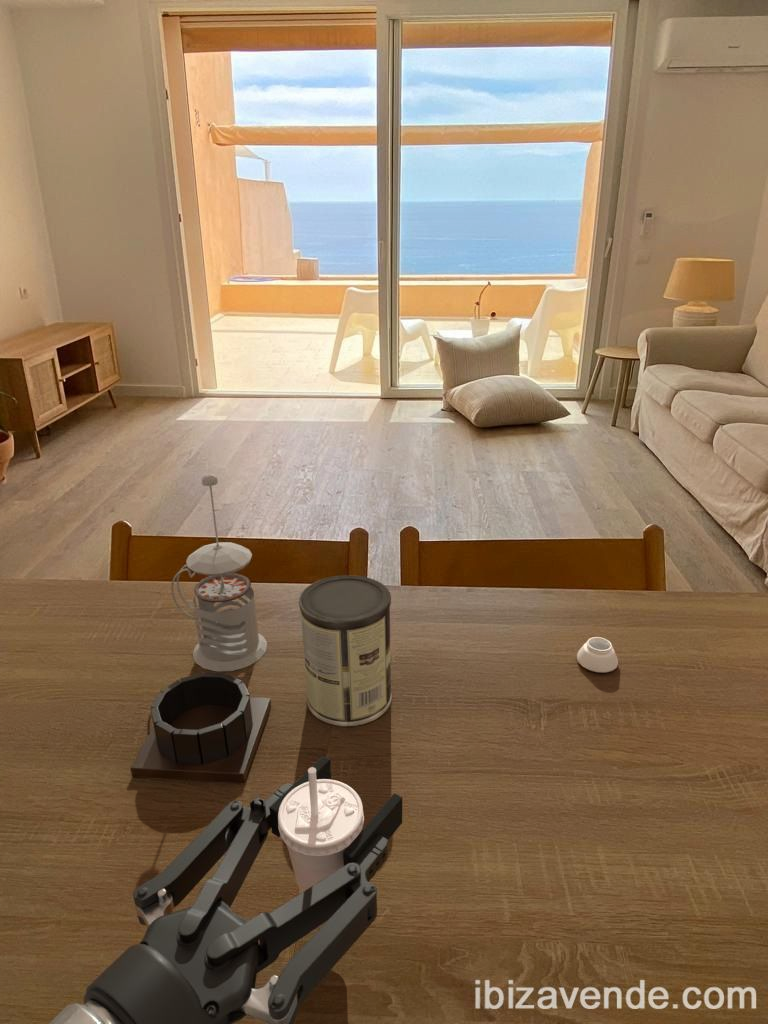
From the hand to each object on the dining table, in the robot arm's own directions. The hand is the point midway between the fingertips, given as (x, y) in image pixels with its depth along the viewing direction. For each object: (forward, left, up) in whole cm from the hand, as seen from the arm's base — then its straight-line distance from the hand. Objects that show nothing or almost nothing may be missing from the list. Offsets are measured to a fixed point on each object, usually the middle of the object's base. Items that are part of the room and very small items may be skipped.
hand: (361, 788), depth 56 cm
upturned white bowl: (+26, +34, -11) cm, 44 cm away
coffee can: (-5, +25, -11) cm, 27 cm away
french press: (-23, +34, -11) cm, 42 cm away
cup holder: (-20, +17, -11) cm, 28 cm away
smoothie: (-3, -4, -8) cm, 9 cm away
